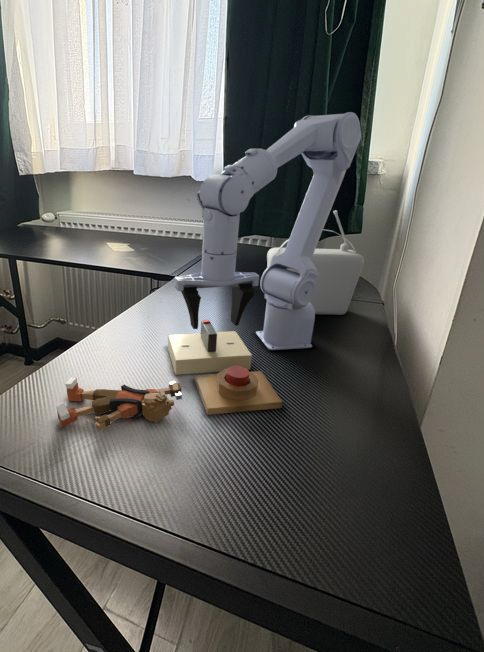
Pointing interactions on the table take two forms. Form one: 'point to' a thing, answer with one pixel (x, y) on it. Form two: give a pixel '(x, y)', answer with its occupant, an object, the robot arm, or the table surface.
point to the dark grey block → (208, 335)
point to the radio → (332, 275)
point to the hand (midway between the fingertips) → (214, 325)
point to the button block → (236, 394)
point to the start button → (237, 376)
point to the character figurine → (118, 403)
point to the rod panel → (207, 353)
